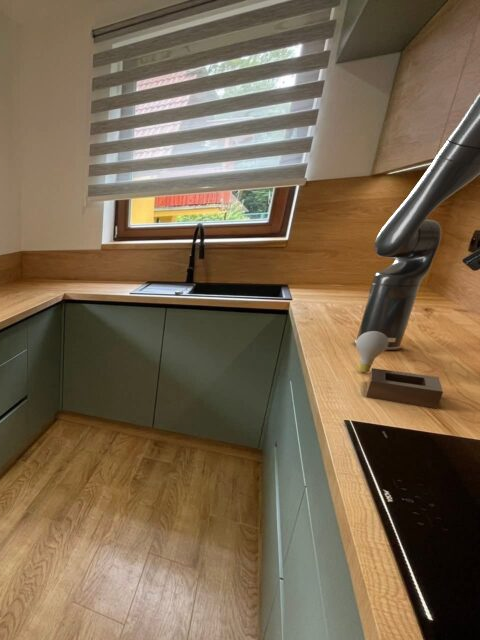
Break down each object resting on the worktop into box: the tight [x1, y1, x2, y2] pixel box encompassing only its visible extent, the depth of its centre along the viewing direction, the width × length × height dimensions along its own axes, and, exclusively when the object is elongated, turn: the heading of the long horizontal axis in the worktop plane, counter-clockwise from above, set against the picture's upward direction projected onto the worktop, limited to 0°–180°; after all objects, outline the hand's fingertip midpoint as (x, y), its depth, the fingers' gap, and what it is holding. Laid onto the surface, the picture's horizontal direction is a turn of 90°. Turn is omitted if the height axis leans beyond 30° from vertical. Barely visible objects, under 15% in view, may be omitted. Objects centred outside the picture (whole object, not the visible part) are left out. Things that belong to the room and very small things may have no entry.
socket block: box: [365, 367, 444, 409], centre depth 88 cm, size 10×10×4 cm
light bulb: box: [355, 331, 389, 374], centre depth 99 cm, size 6×6×10 cm
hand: (467, 265), depth 86 cm, fingers open, 8 cm apart
